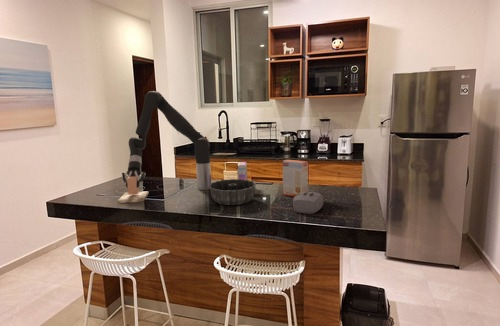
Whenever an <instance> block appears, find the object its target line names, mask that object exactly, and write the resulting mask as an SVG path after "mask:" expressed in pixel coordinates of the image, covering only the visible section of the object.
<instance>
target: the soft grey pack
mask: <svg viewBox="0 0 500 326" xmlns="http://www.w3.org/2000/svg"><path fill="white" fill-rule="evenodd" d="M324 202H325V201H324V196H323V195H322V194H320V193H318V192H314V191H308V192H304V193H300V194H298V195H297V196H295V197H293V198H292V207H293V211H295V212H297V213H299V214H301V213H302V214H309V215H310V214H311V215H312V214H315V213H318V211H320V210H321V209H322V208H323V206H324Z"/></svg>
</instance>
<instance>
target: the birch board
mask: <svg viewBox="0 0 500 326" xmlns="http://www.w3.org/2000/svg"><path fill="white" fill-rule="evenodd" d="M148 196H149V191H147V190H146V191H139V193H138V194H133V195H128V191H127V192H124V193H123V195H122V196H121V197H120V198H118V200H117V204H122V203H125V204H126V203H138V202H139V203H141V202H144V201H145V200H146V199H147V197H148Z"/></svg>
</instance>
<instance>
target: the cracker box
mask: <svg viewBox="0 0 500 326" xmlns="http://www.w3.org/2000/svg"><path fill="white" fill-rule="evenodd" d="M308 165H309V163H308V161H307V160H306V161H304V160H294V159H284V160H282V195H283V196H288V197H293V198H294V197H295V196H297V195H298V194H300V193H304V192H309V191H308V188H309V187H308V185H309V184H308V181H309V180H308V175H309V172H308V171H309V170H308V169H309V167H308Z"/></svg>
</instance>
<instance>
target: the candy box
mask: <svg viewBox="0 0 500 326" xmlns="http://www.w3.org/2000/svg"><path fill="white" fill-rule="evenodd" d="M247 163H248V162H247V161H239V162H237V165H236V167H237V172H236V173H237V179H244V180H248V166H247Z"/></svg>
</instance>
